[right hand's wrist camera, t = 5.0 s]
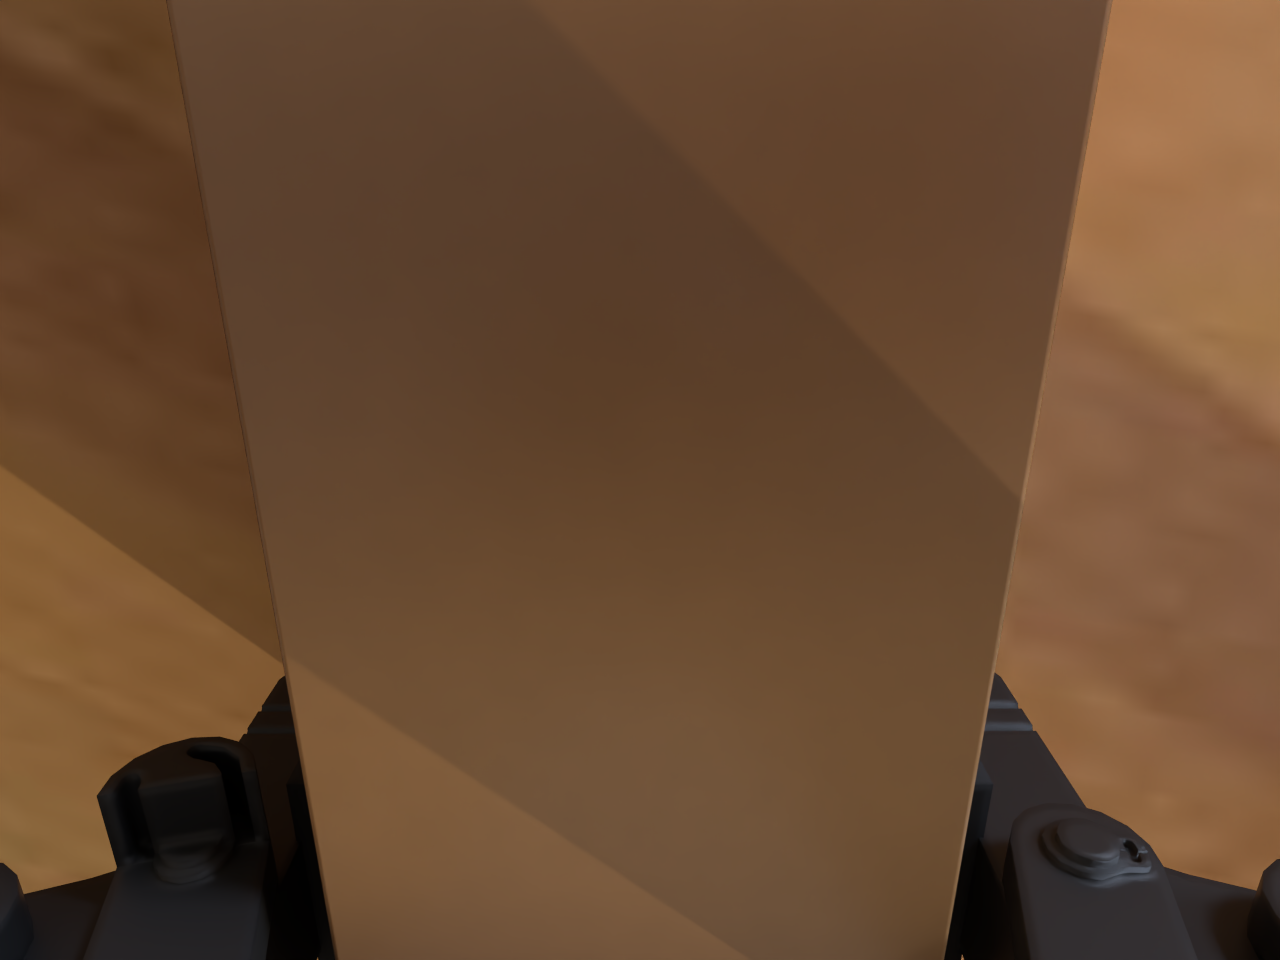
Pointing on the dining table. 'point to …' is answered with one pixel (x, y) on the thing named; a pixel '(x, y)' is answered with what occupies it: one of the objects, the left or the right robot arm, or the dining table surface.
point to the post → (639, 445)
